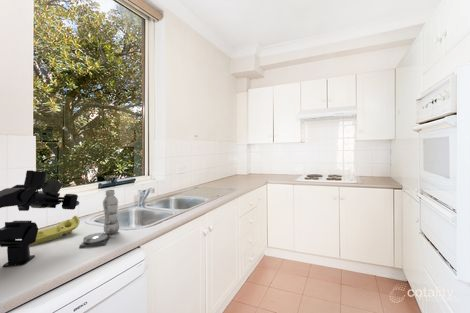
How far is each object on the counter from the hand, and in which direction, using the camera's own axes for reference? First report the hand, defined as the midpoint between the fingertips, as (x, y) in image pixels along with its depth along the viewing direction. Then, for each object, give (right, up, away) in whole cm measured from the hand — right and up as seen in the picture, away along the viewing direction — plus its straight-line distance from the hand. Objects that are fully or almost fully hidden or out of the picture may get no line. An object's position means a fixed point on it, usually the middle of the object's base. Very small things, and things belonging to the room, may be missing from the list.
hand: (69, 202), depth 108 cm
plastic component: (-8, -16, 0) cm, 18 cm away
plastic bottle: (+17, -15, +3) cm, 23 cm away
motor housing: (+16, -15, -7) cm, 23 cm away
